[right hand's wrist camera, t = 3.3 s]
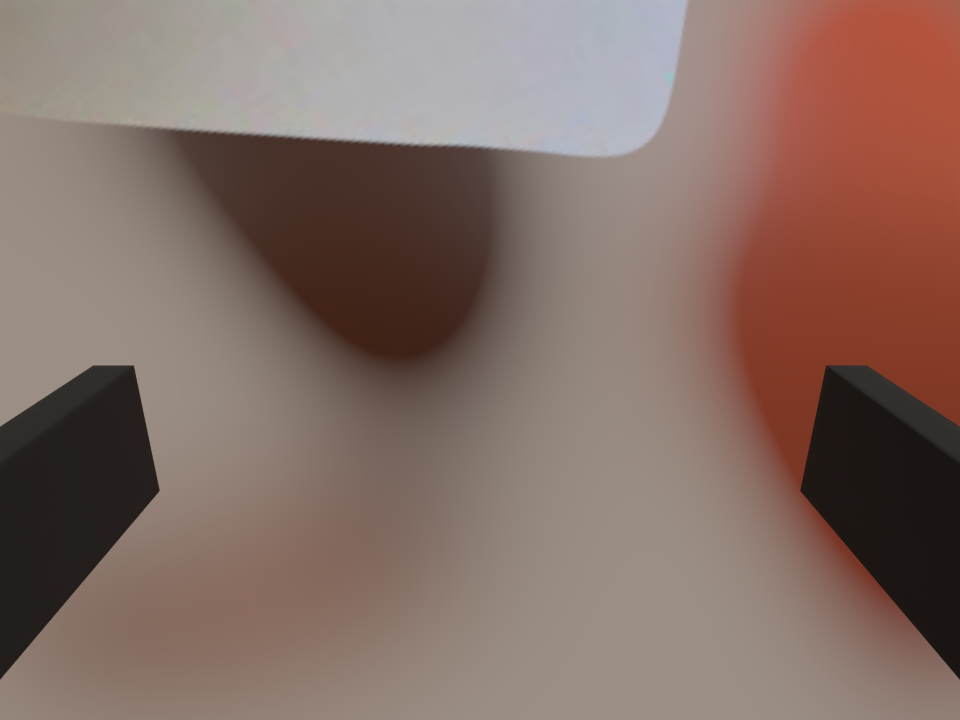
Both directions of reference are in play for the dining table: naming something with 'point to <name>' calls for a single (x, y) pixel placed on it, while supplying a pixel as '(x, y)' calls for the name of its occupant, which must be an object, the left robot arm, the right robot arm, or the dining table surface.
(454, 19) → the dining table surface
